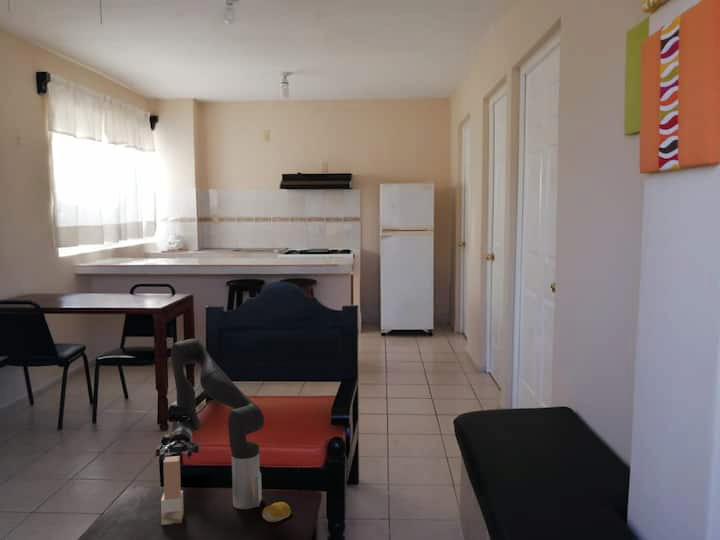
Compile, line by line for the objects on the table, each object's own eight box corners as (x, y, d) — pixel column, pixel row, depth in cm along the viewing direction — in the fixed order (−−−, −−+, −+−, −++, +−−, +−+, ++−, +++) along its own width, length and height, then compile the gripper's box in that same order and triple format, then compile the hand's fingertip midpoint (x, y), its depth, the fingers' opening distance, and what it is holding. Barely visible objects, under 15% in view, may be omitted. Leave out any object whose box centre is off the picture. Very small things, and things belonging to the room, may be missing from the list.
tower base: (183, 514, 186) (183, 502, 186) (181, 523, 180) (180, 510, 180) (164, 516, 185) (164, 504, 185) (161, 525, 179) (161, 512, 179)
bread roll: (295, 514, 184) (295, 502, 184) (273, 525, 178) (273, 512, 178) (279, 507, 190) (279, 495, 190) (257, 516, 183) (257, 504, 183)
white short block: (183, 502, 186) (182, 490, 185) (181, 510, 180) (180, 498, 180) (164, 504, 184) (163, 492, 184) (161, 512, 179) (161, 500, 178)
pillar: (180, 491, 184) (179, 455, 184) (179, 498, 180) (178, 461, 179) (166, 493, 184) (165, 456, 183) (164, 499, 179) (163, 462, 179)
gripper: (160, 431, 206) (153, 447, 190) (200, 428, 209) (196, 443, 193) (161, 451, 207) (153, 468, 191) (201, 448, 209) (197, 464, 194)
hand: (175, 456), depth 192 cm, fingers open, 8 cm apart
